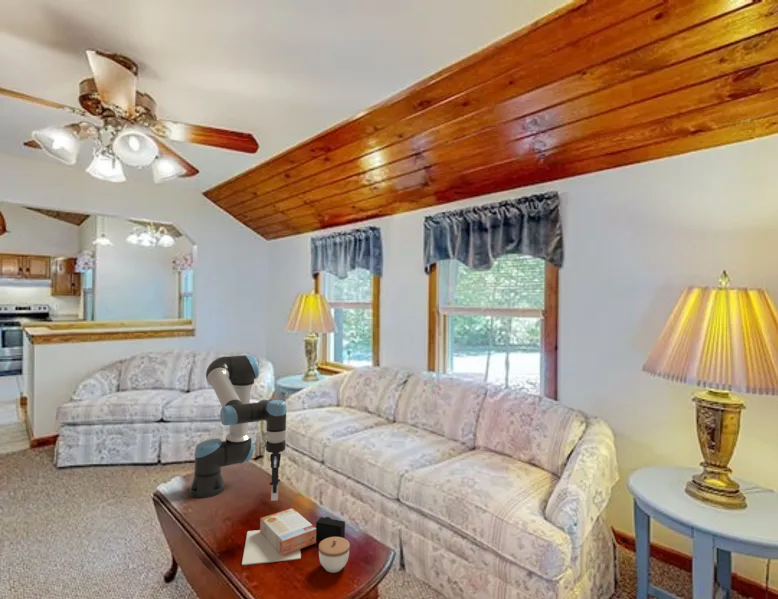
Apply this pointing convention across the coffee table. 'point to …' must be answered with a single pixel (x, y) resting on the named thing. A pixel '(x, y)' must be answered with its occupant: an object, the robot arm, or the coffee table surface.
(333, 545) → the lidded jar
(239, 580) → the coffee table surface
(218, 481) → the robot arm
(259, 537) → the mat
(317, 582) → the coffee table surface
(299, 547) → the cracker box
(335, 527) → the digital camera
